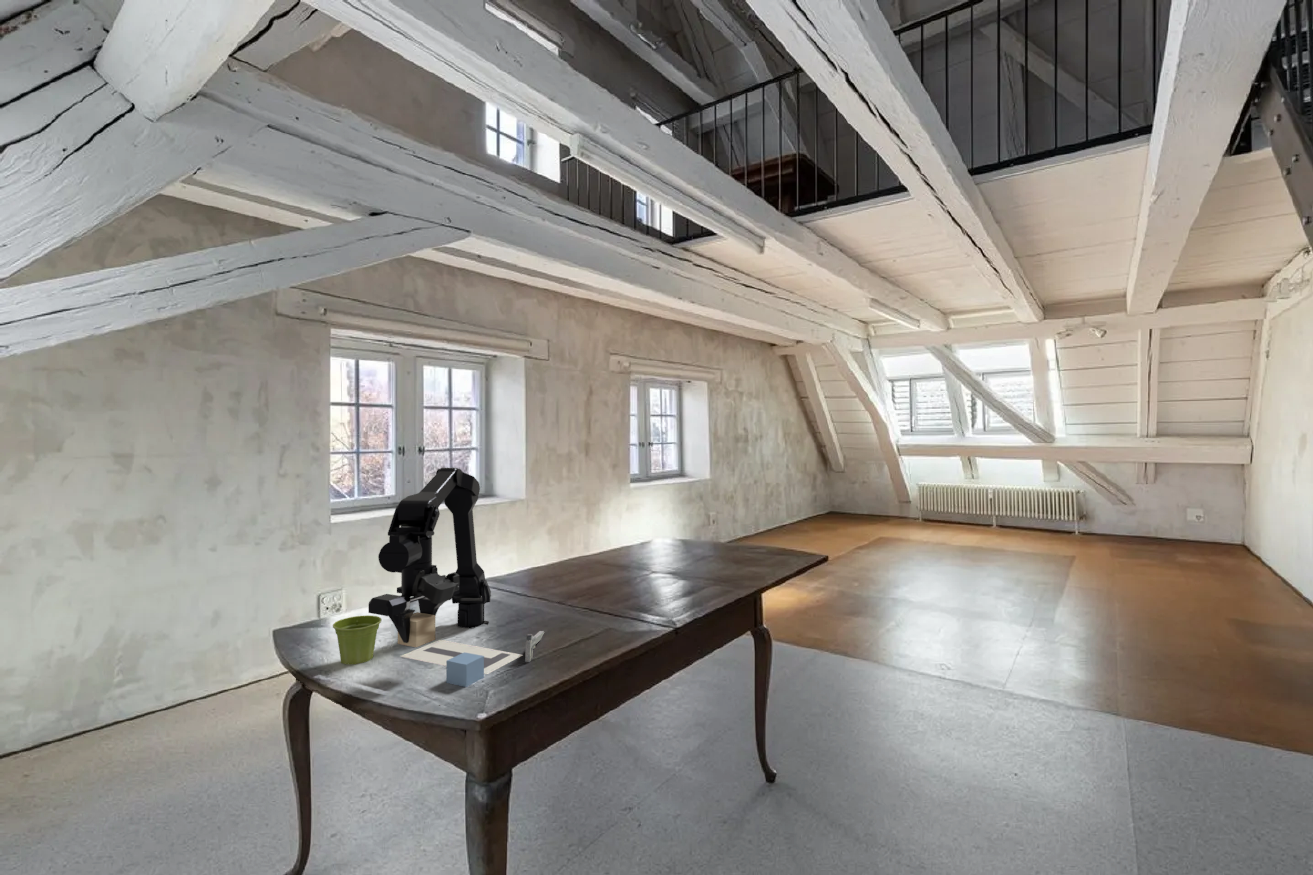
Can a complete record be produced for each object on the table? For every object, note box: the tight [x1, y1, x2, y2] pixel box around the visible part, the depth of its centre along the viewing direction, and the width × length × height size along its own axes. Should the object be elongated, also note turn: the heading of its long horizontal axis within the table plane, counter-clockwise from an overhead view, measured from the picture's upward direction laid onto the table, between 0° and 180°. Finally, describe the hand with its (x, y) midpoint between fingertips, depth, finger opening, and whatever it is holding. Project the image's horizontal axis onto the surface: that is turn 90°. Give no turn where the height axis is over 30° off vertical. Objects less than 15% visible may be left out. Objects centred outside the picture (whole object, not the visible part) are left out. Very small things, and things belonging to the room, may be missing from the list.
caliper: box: [524, 630, 545, 663], centre depth 137 cm, size 20×1×6 cm, turn 2°
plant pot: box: [332, 614, 382, 665], centre depth 128 cm, size 9×9×9 cm
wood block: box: [397, 611, 436, 648], centre depth 120 cm, size 5×5×5 cm
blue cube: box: [445, 652, 485, 688], centre depth 117 cm, size 5×5×5 cm
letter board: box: [399, 639, 523, 675], centre depth 130 cm, size 12×24×1 cm, turn 66°
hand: (416, 638), depth 120 cm, fingers closed on wood block, 5 cm apart
